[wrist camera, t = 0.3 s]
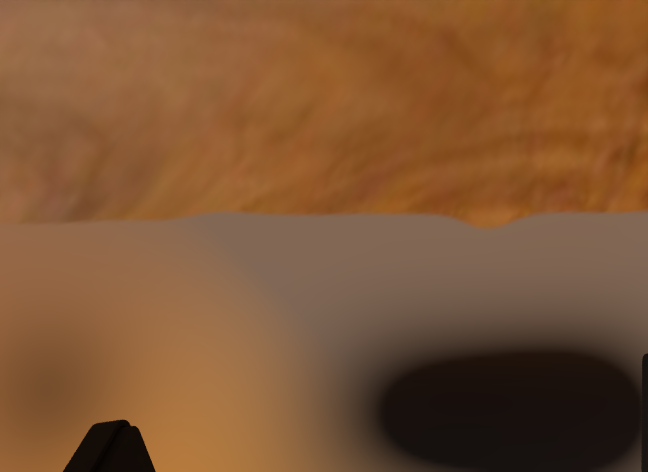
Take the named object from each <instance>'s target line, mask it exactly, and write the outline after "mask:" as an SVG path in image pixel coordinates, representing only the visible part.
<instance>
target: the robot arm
mask: <svg viewBox="0 0 648 472" xmlns="http://www.w3.org/2000/svg"><path fill="white" fill-rule="evenodd" d="M63 472H155V469H154V466H153V464H152V461H151V459H150V456H149V454H148V451H147V449H146V446H145V444H144V441H143V438H142V436H141V433H140V431H139V429H138V428H137V427H136V426H130V424H129V422H128V421H126V420H116V421H109V422H103V423H97V424H94V425H93V426H92V427H91V428H90V430H89V431H88V433H87V434H86V436H85V438H84V439H83V441H82V442H81V444H80V446H79V447H78V449H77V450H76V452H75V453H74V455H73V457H72V458H71V460H70V461H69V463H68V464H67V466H66V468H65V469H64V471H63ZM642 472H648V354H645V355H644V356H643V361H642Z"/></svg>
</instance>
